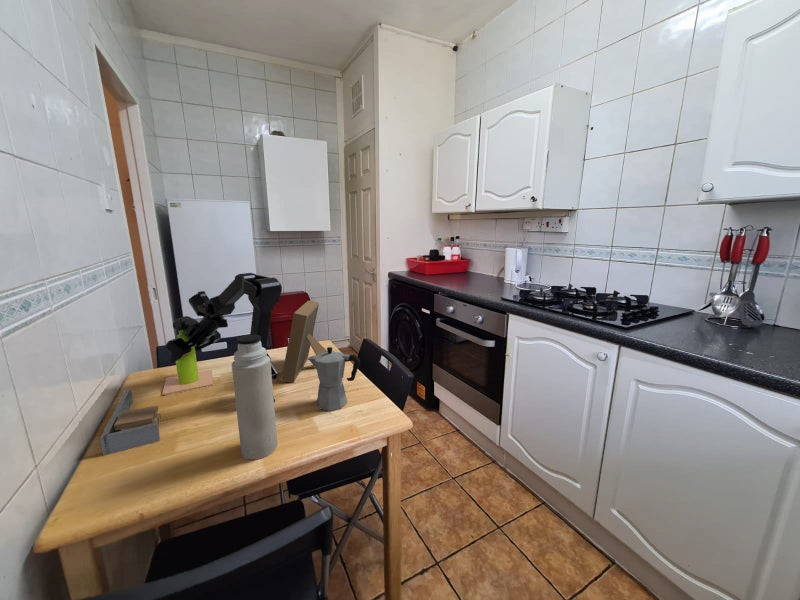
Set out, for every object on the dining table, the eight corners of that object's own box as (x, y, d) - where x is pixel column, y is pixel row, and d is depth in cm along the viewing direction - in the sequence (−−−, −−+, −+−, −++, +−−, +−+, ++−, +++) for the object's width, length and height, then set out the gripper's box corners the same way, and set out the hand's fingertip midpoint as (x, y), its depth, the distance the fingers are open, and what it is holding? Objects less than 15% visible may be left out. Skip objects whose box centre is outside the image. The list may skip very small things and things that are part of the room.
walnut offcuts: (158, 431, 84) (155, 417, 83) (116, 442, 79) (113, 426, 79) (161, 416, 91) (159, 402, 90) (123, 425, 86) (120, 411, 86)
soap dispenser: (183, 386, 107) (174, 329, 103) (176, 381, 111) (167, 325, 108) (202, 380, 112) (195, 325, 108) (195, 375, 116) (187, 322, 112)
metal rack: (159, 440, 80) (157, 424, 79) (103, 455, 74) (99, 438, 74) (170, 394, 103) (168, 381, 102) (127, 402, 98) (125, 389, 97)
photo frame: (281, 383, 111) (276, 313, 106) (297, 359, 132) (294, 300, 128) (324, 382, 112) (321, 313, 107) (333, 359, 133) (331, 300, 128)
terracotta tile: (212, 385, 109) (212, 383, 109) (162, 395, 102) (162, 394, 102) (212, 371, 121) (211, 369, 121) (166, 379, 114) (166, 377, 114)
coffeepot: (306, 411, 93) (302, 353, 90) (314, 395, 102) (311, 342, 99) (359, 411, 93) (357, 353, 90) (362, 395, 102) (361, 342, 99)
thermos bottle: (250, 438, 81) (238, 332, 75) (281, 437, 81) (273, 331, 75) (235, 460, 73) (221, 343, 67) (270, 459, 73) (259, 342, 68)
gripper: (209, 303, 115) (185, 332, 119) (166, 316, 97) (139, 349, 101) (232, 325, 116) (207, 353, 119) (193, 342, 98) (165, 374, 101)
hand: (182, 356), depth 110 cm, fingers open, 9 cm apart
